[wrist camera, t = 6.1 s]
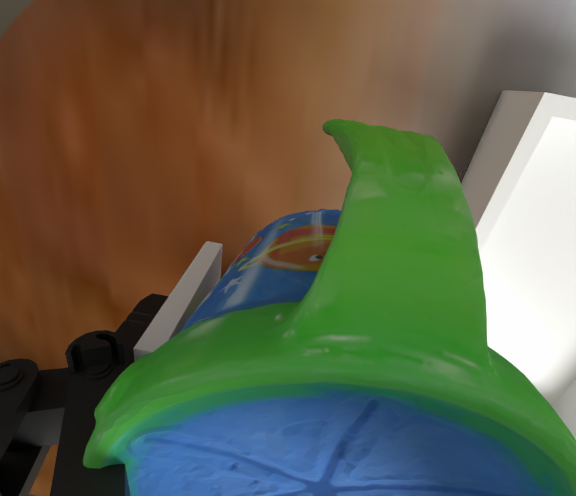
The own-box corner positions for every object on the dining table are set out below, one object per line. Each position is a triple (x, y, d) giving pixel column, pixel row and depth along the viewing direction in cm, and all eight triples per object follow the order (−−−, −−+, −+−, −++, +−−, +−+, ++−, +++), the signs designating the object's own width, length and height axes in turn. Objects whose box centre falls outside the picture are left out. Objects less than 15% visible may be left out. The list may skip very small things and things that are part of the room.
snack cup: (360, 398, 20) (399, 664, 11) (194, 357, 19) (88, 604, 10) (506, 151, 12) (1026, 337, 3) (245, 71, 12) (18, 37, 3)
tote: (375, 375, 39) (382, 413, 35) (502, 90, 24) (544, 92, 19) (549, 407, 40) (578, 448, 35) (786, 145, 24) (891, 159, 20)
